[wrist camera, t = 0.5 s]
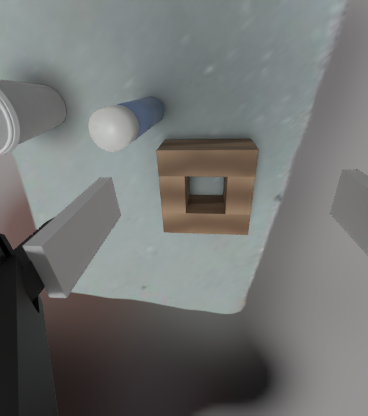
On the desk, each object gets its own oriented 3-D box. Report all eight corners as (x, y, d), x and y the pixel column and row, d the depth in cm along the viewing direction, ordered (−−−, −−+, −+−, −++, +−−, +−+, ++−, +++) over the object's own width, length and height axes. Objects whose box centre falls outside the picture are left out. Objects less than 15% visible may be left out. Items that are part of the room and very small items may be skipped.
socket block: (164, 139, 39) (156, 150, 33) (250, 138, 37) (258, 149, 31) (170, 212, 46) (163, 232, 40) (242, 214, 44) (247, 234, 38)
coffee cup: (11, 74, 36) (-100, 69, 23) (67, 73, 36) (-16, 68, 23) (30, 135, 41) (-53, 159, 28) (80, 136, 40) (18, 161, 27)
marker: (138, 97, 36) (83, 108, 21) (163, 96, 36) (126, 107, 20) (141, 123, 38) (93, 152, 22) (165, 123, 38) (132, 151, 22)
